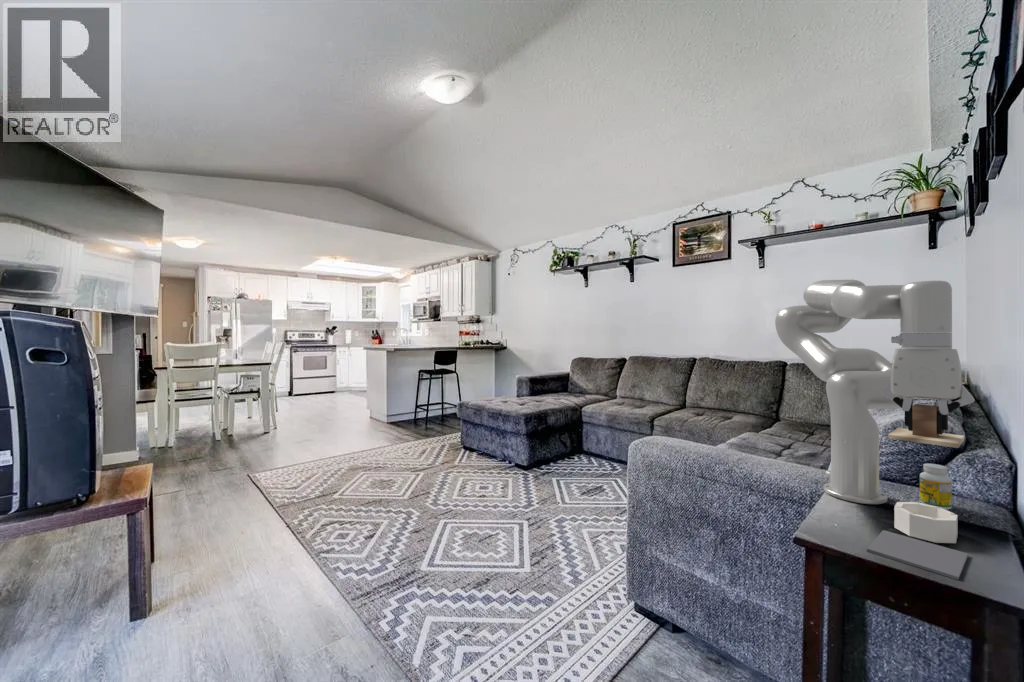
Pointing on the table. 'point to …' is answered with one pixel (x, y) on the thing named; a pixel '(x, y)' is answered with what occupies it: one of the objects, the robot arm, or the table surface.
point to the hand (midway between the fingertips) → (925, 430)
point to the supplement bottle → (936, 486)
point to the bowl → (926, 522)
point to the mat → (919, 554)
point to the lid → (926, 429)
